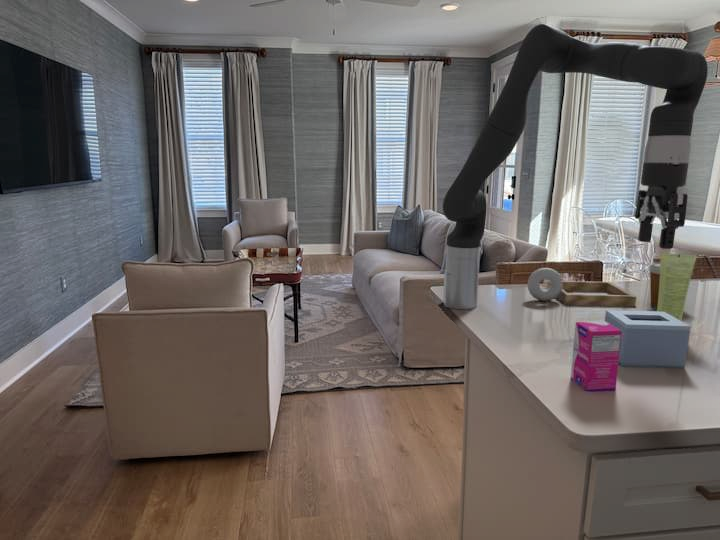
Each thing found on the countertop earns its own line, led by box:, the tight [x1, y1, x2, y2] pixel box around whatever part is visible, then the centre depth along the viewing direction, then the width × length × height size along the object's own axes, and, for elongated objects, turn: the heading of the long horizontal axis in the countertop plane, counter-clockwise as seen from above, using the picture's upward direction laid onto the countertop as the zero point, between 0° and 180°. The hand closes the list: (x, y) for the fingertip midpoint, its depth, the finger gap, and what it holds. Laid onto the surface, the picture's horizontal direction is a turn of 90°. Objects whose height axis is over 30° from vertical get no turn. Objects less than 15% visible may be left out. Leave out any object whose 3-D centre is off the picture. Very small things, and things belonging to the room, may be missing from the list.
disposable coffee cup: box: [648, 262, 660, 308], centre depth 145 cm, size 10×10×12 cm
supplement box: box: [570, 320, 622, 392], centre depth 92 cm, size 6×6×12 cm
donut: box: [527, 267, 564, 302], centre depth 150 cm, size 10×3×10 cm, turn 84°
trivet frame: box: [546, 280, 637, 307], centre depth 155 cm, size 19×18×3 cm
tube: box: [656, 252, 698, 321], centre depth 120 cm, size 6×5×20 cm
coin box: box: [604, 309, 692, 369], centre depth 105 cm, size 12×10×9 cm
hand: (654, 244), depth 101 cm, fingers open, 8 cm apart
